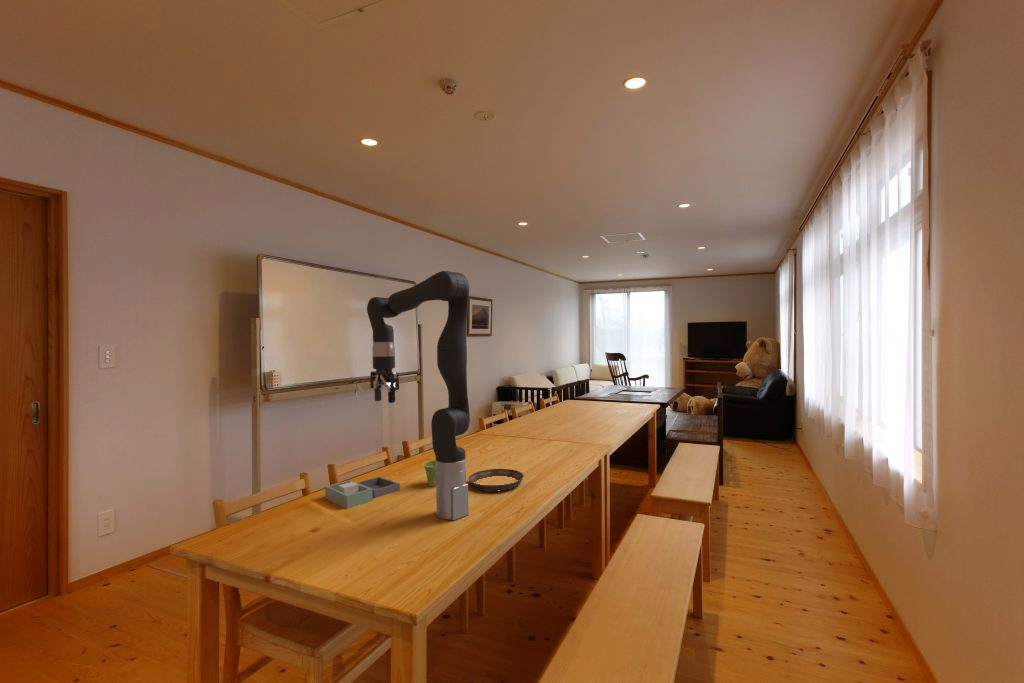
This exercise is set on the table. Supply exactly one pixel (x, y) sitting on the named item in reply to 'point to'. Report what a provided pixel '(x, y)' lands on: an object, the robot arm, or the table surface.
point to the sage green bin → (348, 500)
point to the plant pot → (431, 472)
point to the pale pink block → (349, 488)
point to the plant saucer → (495, 472)
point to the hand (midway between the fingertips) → (384, 401)
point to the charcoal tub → (381, 486)
